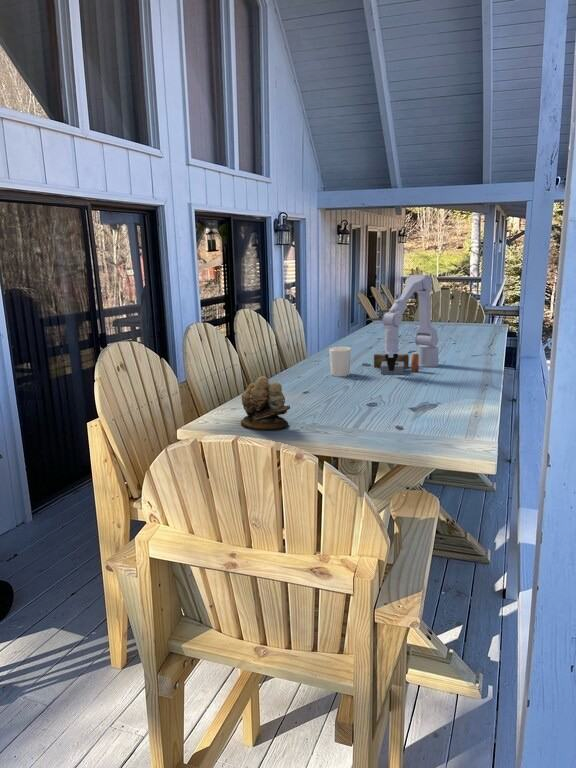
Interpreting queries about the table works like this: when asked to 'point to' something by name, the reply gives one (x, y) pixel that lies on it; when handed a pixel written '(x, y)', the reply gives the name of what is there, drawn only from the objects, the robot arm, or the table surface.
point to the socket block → (397, 370)
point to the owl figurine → (264, 406)
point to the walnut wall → (381, 358)
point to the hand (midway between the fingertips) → (391, 370)
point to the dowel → (415, 363)
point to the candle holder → (340, 361)
